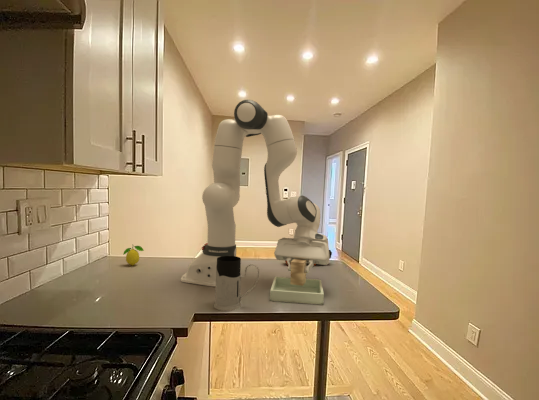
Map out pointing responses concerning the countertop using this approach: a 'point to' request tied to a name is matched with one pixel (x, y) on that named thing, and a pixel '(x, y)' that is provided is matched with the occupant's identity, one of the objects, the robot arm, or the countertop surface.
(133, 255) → the lemon
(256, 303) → the countertop surface
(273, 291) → the tray
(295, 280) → the block
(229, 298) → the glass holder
